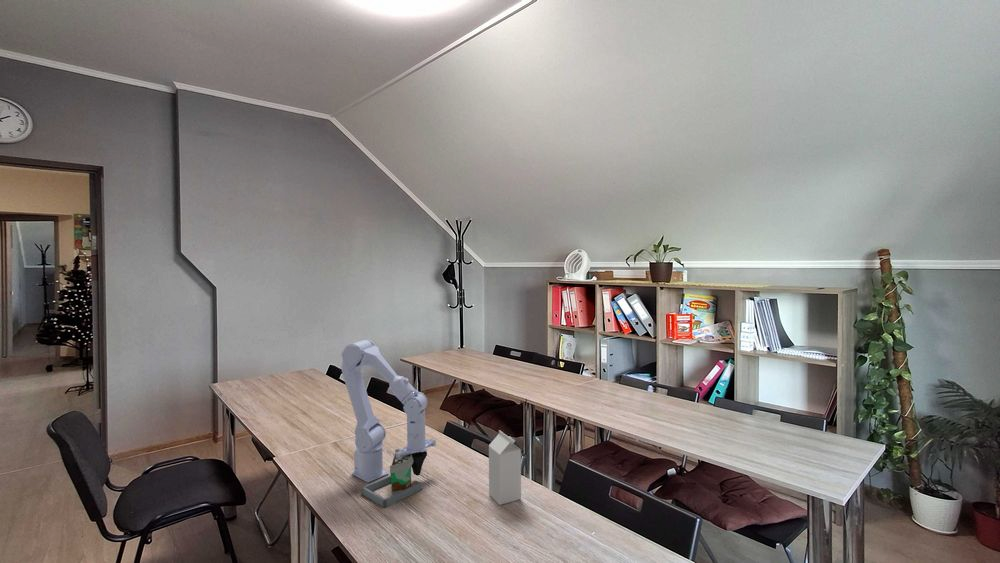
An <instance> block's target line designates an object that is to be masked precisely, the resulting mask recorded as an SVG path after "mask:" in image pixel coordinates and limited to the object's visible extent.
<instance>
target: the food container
mask: <svg viewBox="0 0 1000 563" xmlns="http://www.w3.org/2000/svg"><path fill="white" fill-rule="evenodd" d="M394 450H395V451H394V452H395V454H394V457H393V458H392V464H391V465H389V474H390V475H391V483H390V485H391V494H392V495H394V494H396V493H398V492H400V491H402V490H405V489H407V488H409V487H411V486H412V466H411V465H412V464H413V457H412V455H411V454H409V455H408V456H406V457H404V458H402V459H401V460H399V459H397V458H396V452H398V451H400V450H401V449H394ZM392 495H391V496H392Z"/></svg>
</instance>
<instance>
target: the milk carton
mask: <svg viewBox="0 0 1000 563" xmlns="http://www.w3.org/2000/svg"><path fill="white" fill-rule="evenodd" d="M515 442H516V439H514V438H513V437H511V435H510V436H508V435H507V434H505V433H504V432H503V431H501V430H499V429H498V434H497V435H496V436H495V437H494V438H493V440H492V441H491V442H490V443H489V445H488V494H489V496H490V497H491V498H492V499H493V500H494V501H495V502H496V503H497V504H498V505H499V506H501V505H504V504H508V503H513V502H515V501H519V500H522V450H521V448H520V447H518V446H517V445H516V444H514V443H515Z"/></svg>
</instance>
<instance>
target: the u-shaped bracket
mask: <svg viewBox="0 0 1000 563" xmlns="http://www.w3.org/2000/svg"><path fill="white" fill-rule="evenodd" d="M388 484H391V474H390V475H386V476H384V477H383V478H382V477H381V478H379V479H377V480H374V482H373V481H372V482H370V483H369V484H366V485H364V486H362V487H361V495H363V496H364V497H365V498H367V499H369V500H371V501H372V502H374V503H376V504H378V505H379V506H381V507H382V508H386V507H389V506H391V505H393V504H394V503H397V502H399V501H401V500H403V499H405V498H408V497H409V496H411V495H414V494H415V493H418V492H420V491H422V490H423V482H422V481H420V482H418V483H415V484H413V485H411V487H409V488H407V489H405V490H402V491H400V492H398V493H396V494H394V495H389V496H388V497H386V498H385V497H383V496H381V495H379V494H377V493H375V490H377V489H379V488H381V487H384V486H386V485H388Z"/></svg>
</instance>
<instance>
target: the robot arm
mask: <svg viewBox="0 0 1000 563" xmlns="http://www.w3.org/2000/svg"><path fill="white" fill-rule="evenodd" d="M340 355H341V358H342V365H341V373H342V376H343V379H344V383H345V386H346V390H347V394H348V396H349V399H350V402H351V406H352V409H353V412H354V416H355V420H356V426H355V429H354V434H355V441H354V445H355V447H356V449H355V450H354V453H353V454H354V455H353V461H354V462H353V465H354V466H353V467H354V468H353V470H354V471H352V472H351V474H352V475H353V476H355V477H357V478H359V479H360V480H362V481H364V482H366V483H372V482H373V481H376V480H379V479H381V478H382V477H386V476H388V474H389V472H388V471H387V470H385V469H383V468H384V467H383V465H384V461H383V457H384V456H383V441H384V440H385V438H386V436H387V431H386V429H385V427H384V426H383V425H382V423H381V421H380V420H381V419H379V418H377V416H375V414H374V412H373V407H372V405H371V402H370V398H369V395H368V391H367V389H366V386H365V383H364V381H365V380H364V379H363V375H362V372H361V370H362V368H363V366H370V367H372V368H374V370H375V371H377V373H379V375H381V376H382V377H383V378H384V379H385V381H386V382H388V384H389V385H388V386H389V387H388V388H389V391H391V392H392V393H393V395H394V396H395V397H396V398H397V399H398V400H399V401H400V402H401V404H402V405H403V406H402V407H403V412H404V413H405V414H406V438H407V439H406V446H405V447H403V448H402V449H399V450H400V451H398V452H396V458H397V459H399V460H401V459H402V458H404V457H406V456H408V455H409V454H411V455H412V457H413V464H412V465H411V470H412V473H413V475H415V476H419V475H421V472H422V469H423V465H424V464H423V463H424V461H425V459H426V458H427V456H428V451H427V449H429V448H431V447H436V445H437V443H436V442H437V440H436V439H434V438H428V439H426V408H427V406H428V405H429V404H428V403H429V402H428V398H427V396H426V395H425V393H424V392H420V391H418V390H417V389H415V387H414V386H413V385H412V384H411V383H410V379H408V377H404V376H403V375H398V374H397V373H396V371H395V370H394V369H393V368H392V367H391V365H390V364H389V363H388V362H387V360H386V359H385V357H383V355H382V354H381V352H380V348H379V347H378V346H377V345H375V343H374V342H373V341H372V340H371V339H368V338H364V339H361V340H359V341H356V342H353V343H349V344H347V345H346V346H345V347H344V349H343V351H342V352H341V354H340Z"/></svg>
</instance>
